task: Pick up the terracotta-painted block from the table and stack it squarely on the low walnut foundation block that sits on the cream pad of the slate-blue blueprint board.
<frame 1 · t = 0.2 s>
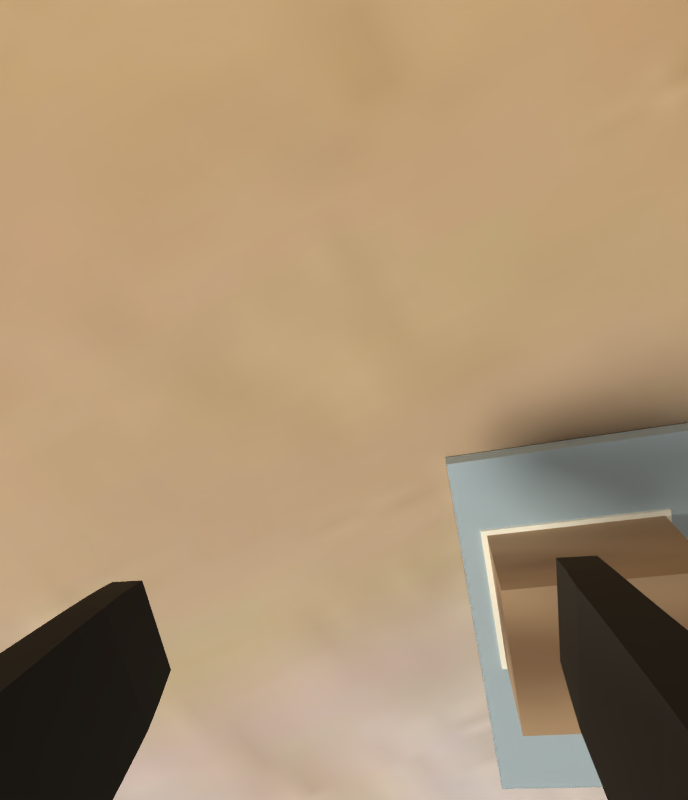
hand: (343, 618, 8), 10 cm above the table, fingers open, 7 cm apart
blueprint board: (632, 621, 19), on the table
walnut foundation block: (580, 595, 18), point 1 cm above the table, touching blueprint board
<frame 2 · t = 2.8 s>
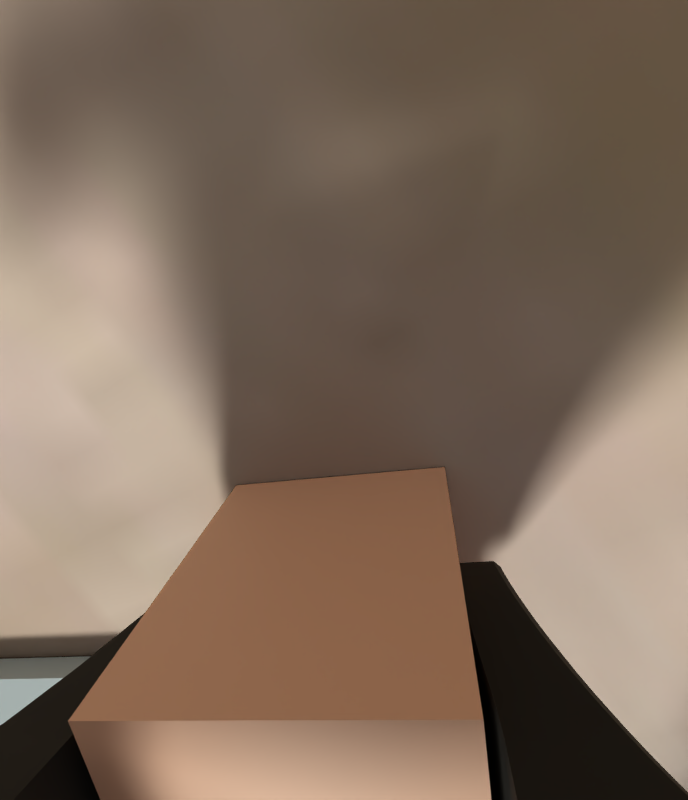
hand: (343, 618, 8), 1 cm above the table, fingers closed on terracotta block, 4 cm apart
terracotta block: (352, 567, 10), on the table, touching gripper
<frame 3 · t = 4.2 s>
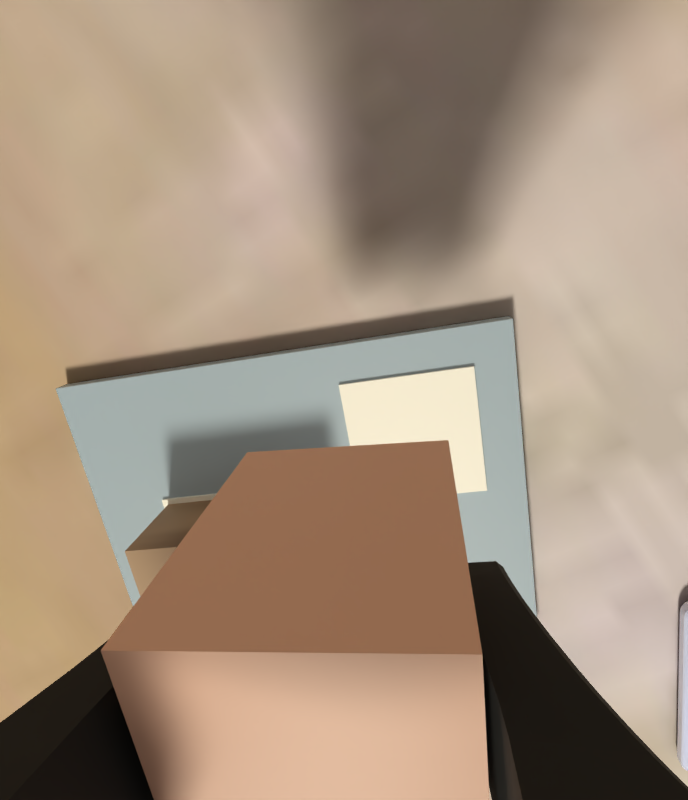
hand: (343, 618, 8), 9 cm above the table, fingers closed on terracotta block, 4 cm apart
blueprint board: (304, 506, 19), on the table
walnut foundation block: (260, 566, 19), point 1 cm above the table, touching blueprint board
terracotta block: (356, 533, 10), point 7 cm above the table, touching gripper
when the fingers open (6 cm above the table, at t = 5.9 s): terracotta block stays where it is, resting on walnut foundation block.
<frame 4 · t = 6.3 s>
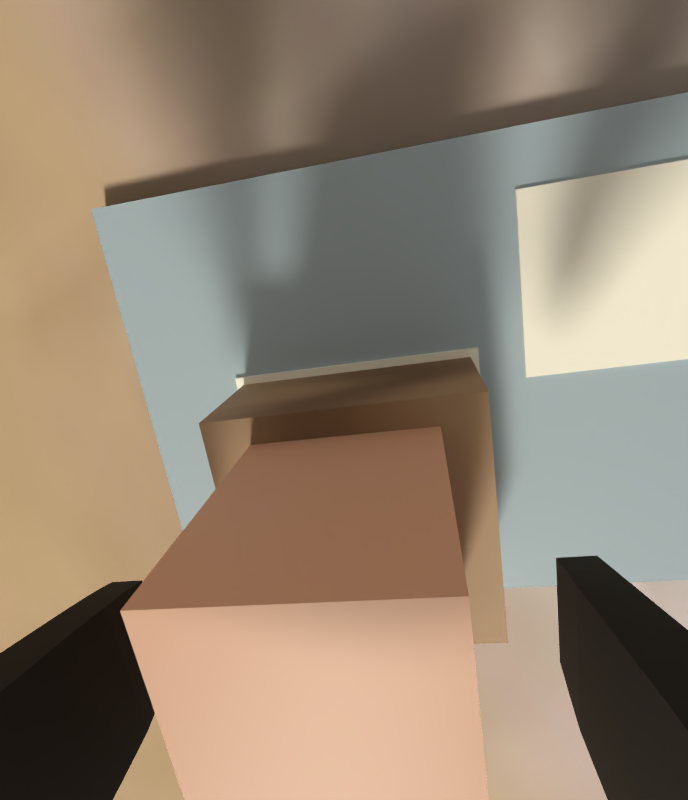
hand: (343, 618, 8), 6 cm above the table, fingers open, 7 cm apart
blueprint board: (433, 391, 13), on the table
walnut foundation block: (368, 475, 14), point 1 cm above the table, touching blueprint board, terracotta block
terracotta block: (356, 520, 11), point 4 cm above the table, touching walnut foundation block
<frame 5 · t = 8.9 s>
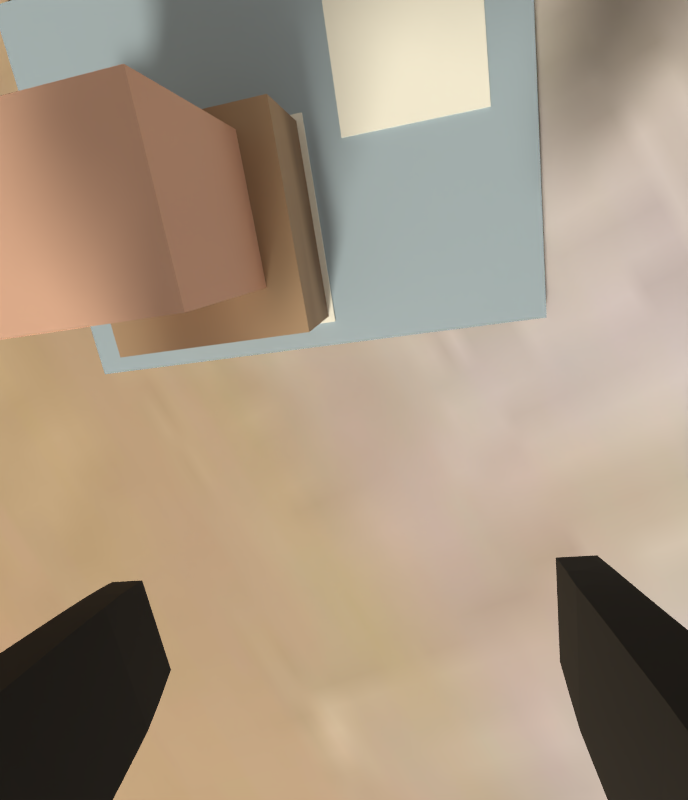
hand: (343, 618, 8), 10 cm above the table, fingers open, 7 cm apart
blueprint board: (277, 166, 16), on the table
walnut foundation block: (226, 239, 16), point 1 cm above the table, touching blueprint board, terracotta block
terracotta block: (183, 224, 14), point 4 cm above the table, touching walnut foundation block
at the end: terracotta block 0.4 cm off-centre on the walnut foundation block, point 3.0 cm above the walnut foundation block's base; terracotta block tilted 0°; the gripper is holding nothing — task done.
